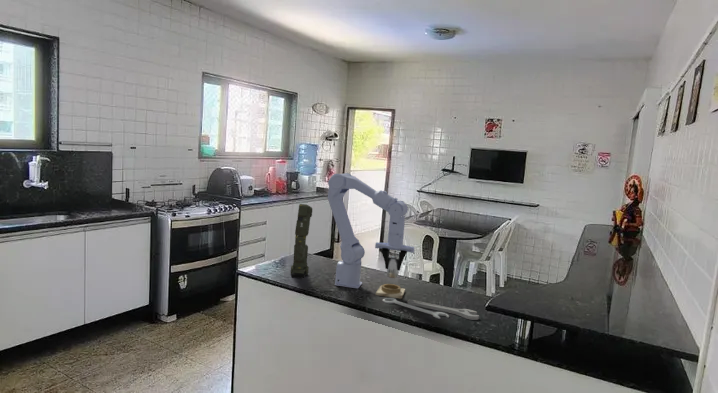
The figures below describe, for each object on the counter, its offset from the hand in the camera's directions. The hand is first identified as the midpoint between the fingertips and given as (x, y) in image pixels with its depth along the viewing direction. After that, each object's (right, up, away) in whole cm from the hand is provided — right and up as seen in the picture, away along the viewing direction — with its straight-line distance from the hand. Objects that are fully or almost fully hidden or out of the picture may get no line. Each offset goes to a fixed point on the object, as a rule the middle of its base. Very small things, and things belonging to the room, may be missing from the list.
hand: (392, 269), depth 173 cm
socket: (-1, -9, +1) cm, 9 cm away
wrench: (+6, -12, -14) cm, 19 cm away
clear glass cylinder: (0, -3, 0) cm, 3 cm away
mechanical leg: (-37, -5, +17) cm, 41 cm away
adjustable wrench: (+17, -13, -13) cm, 25 cm away
